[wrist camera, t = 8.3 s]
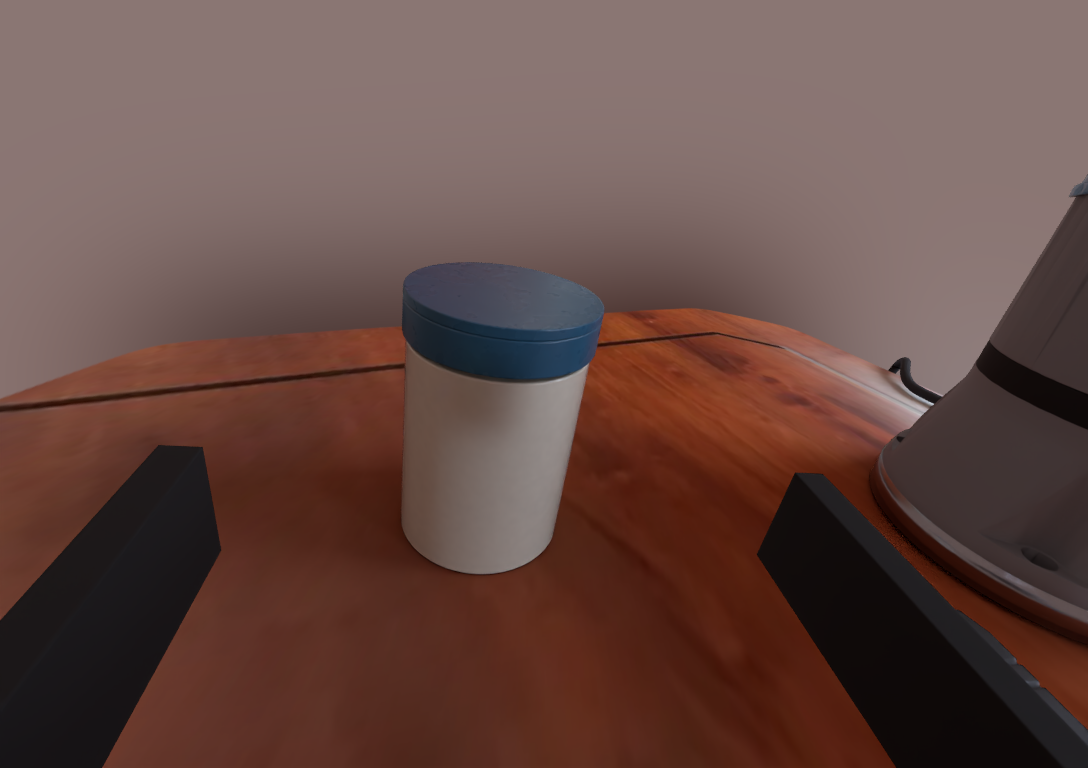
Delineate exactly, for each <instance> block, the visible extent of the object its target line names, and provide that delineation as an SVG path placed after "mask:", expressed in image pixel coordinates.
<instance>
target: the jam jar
mask: <svg viewBox="0 0 1088 768" xmlns="http://www.w3.org/2000/svg"><path fill="white" fill-rule="evenodd" d="M589 364H590V363H588V364H587V365H586V366H585V367H583V368H582V369H580V370H578V371H575V372H572V373H570V374H566V375H562V376H558V377H552V378H543V379H504V378H495V377H488V376H482V375H476V374H472V373H468V372H463V371H460V370H457V369H453V368H450V367H447V366H445V365H442V364H439V363H437V362H435V361H433V360H431V359H429V358H427V357H425V356H424V355H422V354H420V353H419V352H418V351H416V350H415V349H414V348H412V347H411V345H410V344H409V343H408V342H407V341H406V342H405V379H404V416H403V452H402V489H401V524H402V528H403V531H404V534H405V535H406V537H407V539H408V541H409V542H410V543H411V545H412V546H413V547H414V548H415V549H416V550H417V551H418V552H419V553H420V554H421V555H422V556H424V557H425V558H427V559H428V560H430V561H432V562H433V563H435V564H437V565H439V566H442V567H444V568H447V569H450V570H454V571H458V572H463V573H469V574H494V573H500V572H505V571H509V570H513V569H516V568H518V567H520V566H523V565H525V564H527V563H528V562H530V561H532V560H533V559H534V558H536V557H537V556H538V555H539V554H540V553H541V552H542V551H543V550H544V549H545V548H546V547H547V545H548V544H549V543H550V541H551V539H552V536H553V533H554V530H555V525H556V520H557V516H558V511H559V506H560V501H561V497H562V492H563V487H564V482H565V478H566V473H567V468H568V464H569V459H570V454H571V449H572V445H573V440H574V435H575V430H576V426H577V421H578V416H579V411H580V407H581V402H582V397H583V393H584V388H585V383H586V378H587V374H588V369H589Z"/></svg>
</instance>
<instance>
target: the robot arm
mask: <svg viewBox="0 0 1088 768" xmlns="http://www.w3.org/2000/svg"><path fill="white" fill-rule="evenodd" d="M1069 197H1076V198H1075V200H1074V202H1073V204H1072V205H1071V207H1070V208H1069V210H1068V211H1067V213H1066V215H1065V216H1064V218H1063V220H1062V221H1061V223H1060V224H1059V226H1058V228H1057V229H1056V231H1055V233H1054V234H1053V236H1052V238H1051V239H1050V241H1049V243H1048V244H1047V246H1046V248H1045V249H1044V251H1043V252H1042V254H1041V255H1040V257H1039V259H1038V260H1037V262H1036V264H1035V265H1034V267H1033V268H1032V270H1031V272H1030V274H1029V275H1028V277H1027V278H1026V280H1025V282H1024V283H1023V285H1022V286H1021V288H1020V290H1019V292H1018V293H1017V295H1016V296H1015V298H1014V299H1013V301H1012V303H1011V304H1010V306H1009V308H1008V309H1007V311H1006V313H1005V314H1004V316H1003V318H1002V319H1001V321H1000V322H999V324H998V326H997V327H996V329H995V330H994V332H993V334H992V335H991V337H990V340H989V341H988V343H987V345H986V346H985V348H984V349H983V351H982V353H981V355H980V356H979V358H978V359H977V361H976V362H975V364H974V366H973V367H972V369H971V370H970V372H969V373H968V375H967V376H966V377H965V378H964V379H963V380H962V381H961V382H960V383H958V384H957V385H956V386H955V387H954V388H953V389H951V390H950V391H949V392H948V393H947V394H945V395H944V396H943V397H941V396H939V395H937V394H935V393H933V392H931V391H929V390H926V389H925V388H923V387H921V386H919V385H918V384H916V383H915V382H914V381H913V379H912V377H911V373H910V366H911V361H910V359H909V358H906V357H904V358H901V359H899V360H897V361H896V362H895V363H894V364H893V365H892V366H891V367H890V369H889V370H888V371H890V372H892V373H894V374H896V373H897V372H898V371H899V370H900V376H901V380H902V382H903V384H904V385H905V386H906V387H907V388H908V389H909V390H910V391H911V392H913V393H914V394H916V395H918V396H919V397H921V398H923V399H925V400H927V401H929V402H932V403H934V405H933V406H932V407H931V408H930V409H928V410H927V411H926V412H925V413H924V414H923V415H922V416H921V417H920V418H919V419H918V420H917V421H916V423H915V424H914V425H913V426H912V427H911V428H910V429H907V430H904V431H902V432H900V433H899V434H897V435H896V436H895V437H894V438H893V439H891V441H890V442H889V443H888V444H886V445H885V446H884V448H883V450H882V452H881V453H880V455H879V457H878V459H877V461H876V462H875V464H874V466H873V468H872V470H871V472H870V486H871V490H872V492H873V495H874V497H875V499H876V500H877V502H878V504H879V505H880V507H881V508H882V510H883V511H884V513H885V514H886V515H887V516H888V518H889V519H890V520H891V521H892V522H893V523H894V525H895V526H896V527H897V528H898V529H899V530H900V531H901V532H902V533H903V534H904V535H905V536H906V537H907V538H908V539H909V540H910V541H911V542H913V543H914V544H915V545H916V546H917V547H918V548H919V549H920V550H922V551H923V552H924V553H925V554H926V555H928V556H929V557H930V558H931V559H933V560H934V561H935V562H937V563H938V564H939V565H941V566H942V567H943V568H945V569H946V570H947V571H949V572H950V573H952V574H953V575H954V576H956V577H957V578H959V579H960V580H962V581H963V582H965V583H966V584H968V585H969V586H971V587H972V588H974V589H976V590H977V591H979V592H980V593H982V594H984V595H985V596H987V597H989V598H990V599H992V600H994V601H995V602H997V603H999V604H1001V605H1003V606H1004V607H1006V608H1008V609H1010V610H1012V611H1013V612H1015V613H1017V614H1019V615H1021V616H1023V617H1025V618H1027V619H1029V620H1031V621H1033V622H1035V623H1037V624H1039V625H1041V626H1043V627H1046V628H1048V629H1050V630H1052V631H1054V632H1057V633H1059V634H1061V635H1064V636H1066V637H1069V638H1071V639H1073V640H1076V641H1078V642H1081V643H1084V644H1086V645H1088V175H1087V176H1086V178H1085V179H1084V181H1083V182H1082V183H1080V184H1078V185H1076V186H1075V187H1074V188H1073V189H1072V191H1071V193H1070V195H1069ZM220 551H221V546H220V541H219V535H218V530H217V524H216V519H215V513H214V508H213V502H212V496H211V491H210V485H209V480H208V474H207V469H206V463H205V458H204V452H203V447H188V446H165V445H158V446H157V448H156V449H155V450H154V451H153V452H152V453H151V454H150V455H149V456H148V458H147V459H146V460H145V461H144V462H143V463H142V464H141V465H140V466H139V467H138V469H137V470H136V471H135V472H134V473H133V474H132V475H131V476H130V477H129V479H128V480H127V481H126V482H125V483H124V484H123V485H122V486H121V487H120V489H119V490H118V491H117V492H116V493H115V494H114V495H113V496H112V497H111V498H110V500H109V501H108V502H107V503H106V504H105V505H104V506H103V507H102V508H101V510H100V511H99V512H98V513H97V514H96V515H95V516H94V517H93V518H92V519H91V521H90V522H89V523H88V524H87V525H86V526H85V527H84V528H83V529H82V531H81V532H80V533H79V534H78V535H77V536H76V537H75V538H74V539H73V541H72V542H71V543H70V544H69V545H68V546H67V547H66V548H65V549H64V550H63V552H62V553H61V554H60V555H59V556H58V557H57V558H56V559H55V560H54V562H53V563H52V564H51V565H50V566H49V567H48V568H47V569H46V570H45V571H44V573H43V574H42V575H41V576H40V577H39V578H38V579H37V580H36V581H35V583H34V584H33V585H32V586H31V587H30V588H29V589H28V590H27V591H26V593H25V594H24V595H23V596H22V597H21V598H20V599H19V600H18V601H17V602H16V604H15V605H14V606H13V607H12V608H11V609H10V610H9V611H8V612H7V614H6V615H5V616H4V617H3V618H2V619H1V620H0V768H102V767H103V765H104V763H105V761H106V760H107V758H108V756H109V754H110V752H111V750H112V749H113V747H114V745H115V743H116V741H117V739H118V738H119V736H120V734H121V732H122V730H123V728H124V727H125V725H126V723H127V721H128V719H129V718H130V716H131V714H132V712H133V710H134V708H135V707H136V705H137V703H138V701H139V699H140V697H141V696H142V694H143V692H144V690H145V688H146V687H147V685H148V683H149V681H150V679H151V677H152V676H153V674H154V672H155V670H156V668H157V666H158V665H159V663H160V661H161V659H162V657H163V656H164V654H165V652H166V650H167V648H168V646H169V645H170V643H171V641H172V639H173V637H174V635H175V634H176V632H177V630H178V628H179V626H180V624H181V623H182V621H183V619H184V617H185V615H186V614H187V612H188V610H189V608H190V606H191V604H192V603H193V601H194V599H195V597H196V595H197V593H198V592H199V590H200V588H201V586H202V584H203V583H204V581H205V579H206V577H207V575H208V573H209V572H210V570H211V568H212V566H213V564H214V562H215V561H216V559H217V557H218V555H219V553H220ZM757 556H758V557H759V559H760V560H761V562H762V563H763V565H764V566H765V568H766V569H767V571H768V572H769V574H770V575H771V577H772V579H773V580H774V582H775V583H776V585H777V586H778V588H779V589H780V591H781V592H782V594H783V595H784V597H785V598H786V600H787V601H788V603H789V604H790V606H791V608H792V609H793V611H794V612H795V614H796V615H797V617H798V618H799V620H800V621H801V623H802V624H803V626H804V627H805V629H806V630H807V632H808V633H809V635H810V637H811V638H812V640H813V641H814V643H815V644H816V646H817V647H818V649H819V650H820V652H821V653H822V655H823V656H824V658H825V659H826V661H827V662H828V664H829V665H830V667H831V669H832V670H833V672H834V673H835V675H836V676H837V678H838V679H839V681H840V682H841V684H842V685H843V687H844V688H845V690H846V691H847V693H848V694H849V696H850V698H851V699H852V701H853V702H854V704H855V705H856V707H857V708H858V710H859V711H860V713H861V714H862V716H863V717H864V719H865V720H866V722H867V723H868V725H869V727H870V728H871V730H872V731H873V733H874V734H875V736H876V737H877V739H878V740H879V742H880V743H881V745H882V746H883V748H884V749H885V751H886V752H887V754H888V756H889V757H890V759H891V760H892V762H893V763H894V765H895V766H896V768H1088V730H1087V729H1086V728H1085V727H1084V726H1083V725H1082V724H1081V723H1080V722H1079V721H1078V720H1077V719H1076V718H1075V717H1074V716H1073V715H1072V714H1071V713H1070V712H1069V711H1068V710H1067V709H1066V708H1065V707H1064V706H1063V705H1062V704H1061V703H1060V702H1059V701H1058V700H1057V699H1056V698H1055V697H1054V696H1053V695H1052V694H1051V693H1050V692H1049V691H1048V690H1047V689H1046V688H1042V687H1040V685H1039V681H1038V680H1037V679H1036V678H1035V677H1034V676H1033V675H1032V674H1031V673H1030V672H1029V671H1028V670H1027V669H1026V668H1025V667H1024V666H1023V665H1019V664H1017V662H1016V660H1017V659H1016V658H1015V657H1014V656H1013V655H1012V654H1011V653H1010V652H1009V651H1008V650H1007V649H1006V648H1005V647H1004V646H1003V645H1002V644H1001V643H1000V642H999V641H998V640H997V639H996V638H995V637H994V636H993V635H992V634H991V633H990V632H988V631H987V630H985V629H984V628H983V627H981V626H980V625H979V624H977V623H976V622H974V621H973V620H972V619H970V618H969V617H968V616H966V615H965V614H963V613H962V612H961V611H959V610H955V609H954V608H953V607H952V606H951V605H950V604H949V603H948V602H947V601H946V600H945V599H944V598H943V597H942V596H941V594H940V593H939V592H938V591H937V590H936V589H935V588H934V587H933V586H932V585H931V584H930V583H929V582H928V581H927V580H926V579H925V578H924V577H923V576H922V575H921V574H920V573H919V572H918V571H917V570H916V569H915V568H914V567H913V566H912V565H911V564H910V563H909V562H908V561H907V560H906V559H905V558H904V557H903V556H902V555H901V554H900V553H899V552H898V551H897V550H896V549H895V547H894V546H893V545H892V544H891V543H890V542H889V541H888V540H887V539H886V538H885V537H884V536H883V535H882V534H881V533H880V532H879V531H878V530H877V529H876V528H875V527H874V526H873V525H872V524H871V523H870V522H869V521H868V520H867V519H866V518H865V517H864V516H863V515H862V514H861V513H860V512H859V511H858V510H857V509H856V508H855V507H854V506H853V505H852V504H851V503H850V502H849V501H848V499H847V498H846V497H845V496H844V495H843V494H842V493H841V492H840V491H839V490H838V489H837V488H836V487H835V486H834V485H833V484H832V483H831V482H830V481H829V480H828V479H827V478H826V477H825V476H824V475H823V474H814V473H795V474H794V476H793V478H792V480H791V483H790V485H789V487H788V489H787V491H786V493H785V495H784V497H783V500H782V502H781V504H780V506H779V508H778V510H777V512H776V515H775V517H774V519H773V521H772V523H771V525H770V527H769V529H768V532H767V534H766V536H765V538H764V540H763V542H762V544H761V547H760V549H759V551H758V553H757Z"/></svg>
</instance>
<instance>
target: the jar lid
mask: <svg viewBox="0 0 1088 768" xmlns="http://www.w3.org/2000/svg"><path fill="white" fill-rule="evenodd" d="M402 315H403V317H402V331H403V335H404V337H405V339H406V341H407V342H408V343H409V344H410V345H411V347H412V348H414V349H415V350H416V351H418V352H419V353H420V354H422V355H424V356H425V357H427V358H429V359H431V360H433V361H435V362H437V363H439V364H442V365H445V366H447V367H450V368H453V369H457V370H460V371H463V372H468V373H472V374H476V375H482V376H488V377H495V378H504V379H543V378H552V377H558V376H562V375H566V374H570V373H572V372H575V371H578V370H580V369H582V368H583V367H585V366H586V365H587V364H588V363H590V362H591V360H592V359H593V357H594V356H595V352H596V348H597V343H598V338H599V334H600V329H601V324H602V319H603V315H604V305H603V303H602V301H601V300H600V299H599V298H598V297H597V296H596V295H595V294H594V293H592V292H591V291H589V290H588V289H586V288H584V287H582V286H581V285H579V284H576V283H574V282H572V281H569V280H567V279H564V278H561V277H558V276H555V275H552V274H548V273H545V272H541V271H537V270H532V269H527V268H522V267H516V266H510V265H502V264H492V263H474V262H473V263H472V262H471V263H470V262H465V263H446V264H438V265H432V266H428V267H424V268H421V269H418V270H416V271H414V272H412V273H410V274H409V275H408V276H407V277H406V278H405V280H404V284H403V314H402Z"/></svg>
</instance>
